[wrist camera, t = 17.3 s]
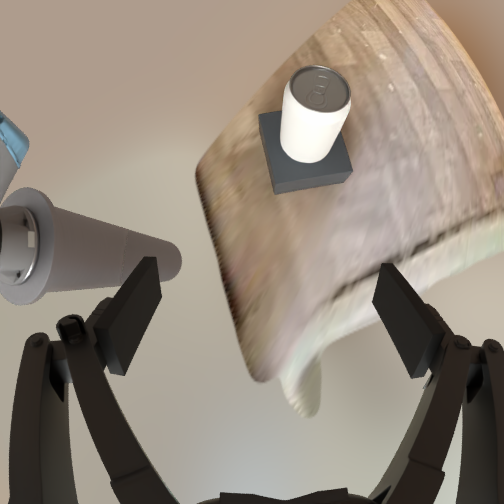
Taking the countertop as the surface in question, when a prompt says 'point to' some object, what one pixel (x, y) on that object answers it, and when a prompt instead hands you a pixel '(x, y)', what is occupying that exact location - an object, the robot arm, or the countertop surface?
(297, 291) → the countertop surface
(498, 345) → the robot arm
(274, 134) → the grey block
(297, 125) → the can
